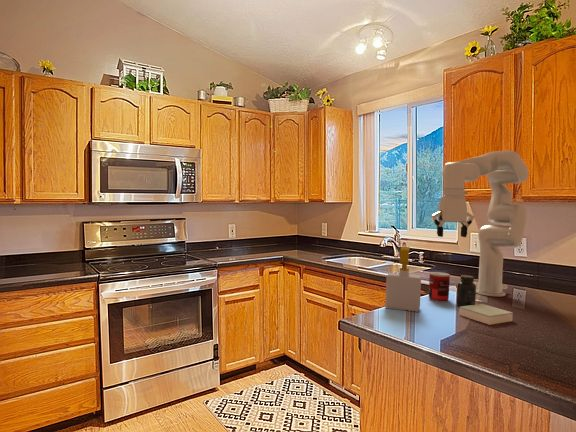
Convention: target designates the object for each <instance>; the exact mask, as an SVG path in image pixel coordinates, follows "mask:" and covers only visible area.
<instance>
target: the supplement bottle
mask: <svg viewBox="0 0 576 432" xmlns="http://www.w3.org/2000/svg"><path fill="white" fill-rule="evenodd" d="M474 282H475V277H474V276H472V275H467V274H462V275H460V279H459V282H458V283H457V285H456V287H457V288H456V306H458V307H459V308H460V307H461V306H469V305H476V300H477V299H476V298H477V295H476V294H477V293H476V288H477V285H476V283H474Z"/></svg>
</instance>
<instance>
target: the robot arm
mask: <svg viewBox="0 0 576 432" xmlns="http://www.w3.org/2000/svg"><path fill="white" fill-rule="evenodd" d="M482 176H483V177H484V176H486V180H487V182H488V185H489V187H490V191H491V197H490V201H489V205H488V210H487V215H486V219H487V220H488V222H489V223H491V224H486V225H483V226H481V227H479V230H478V242H479V264H478V265H479V266H478V281H477V283H478V284H477V286H478V288H477V287H476V294H477V295H482V296H485V297H486V296H487V297H495V298H499V297H501V298H502V297H505V296H506V292H505V291H503V290H506V289H508V285H507V284H503V267H504V254H503V252H502V251H501V249H500V248H499V247H501V248H509V249H514V248H516V249H517V248H518V247H520V245H521V244H522V241H523V238H524V234H525V229H526V224H527V220H528V211H527V208H526V206H525V205H523V204H520V203H512V201H513V193H512V192H511V190H510V189H509V187H507V186H506V185H507V184H522V183H525V182H526V181H527V180H528V179H529V168H528V167H527V164H526V162H525V161H524V160H523V159H522V157H521V156H520V155H519V153H518V152H517V151H514V150H511V149H510V150H499V151H498V150H496V151H489V152H487V153H484V154H482V155H478V156H475V157H470V158H467V159H466V158H465V159H461V160H457V161H452V162H450V161H449V162H446V163H445V165H444V167H443V169H442V177H443V196H441V197H440V200H439V205H438V211H437V212H435V213H433V214H431V219H432V222H433V223H434V225H435V226H436V235H437V237H440V238H443V237H444V226H443V225H444V224H445V223H460V224H461V226H460V237H462V238H467V235H468V228H469V227H470V225H471V224H472V223H473V221H474V219H475V216H474V215H473V214H471V213H469V212H468V208H467V199H466V197H465V195H467V194H468V191H466V190H465V183H469V182H475V181H478V180H479V178H480V177H482ZM467 219H468V220H467Z"/></svg>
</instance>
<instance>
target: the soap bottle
mask: <svg viewBox="0 0 576 432" xmlns="http://www.w3.org/2000/svg"><path fill="white" fill-rule="evenodd" d="M410 249H411V248H410V247H409V246H400V249H399V263H400V264H401V267H399V272H398V273H397V272H388V274H386V280H385V281H386V283H385V308H386V309H393V310H398V309H400V310H401V311H406V310H408V311H407V312H414V311H415V312H414V313H417V312H420V308H421V294H422V293H421V292H422V291H421V290H422V288H421V287H422V276H421V275H419V274H409V273H410V272H409V271H410V268H408V265H409V263H410V260H409V258H410ZM400 310H399V311H400Z"/></svg>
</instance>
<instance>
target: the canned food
mask: <svg viewBox="0 0 576 432" xmlns="http://www.w3.org/2000/svg"><path fill="white" fill-rule="evenodd" d="M450 275H451V274H450V273H447V272H441V271H431V272H429V278H428V279H429V280H428V298H429V299H430V300H431V301H435V302H448V301H449V297H450V277H451V276H450Z"/></svg>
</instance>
